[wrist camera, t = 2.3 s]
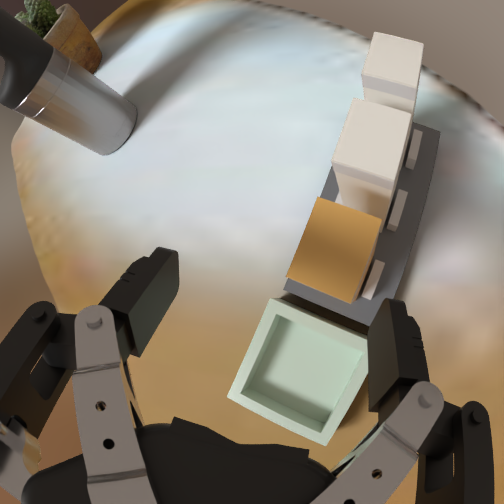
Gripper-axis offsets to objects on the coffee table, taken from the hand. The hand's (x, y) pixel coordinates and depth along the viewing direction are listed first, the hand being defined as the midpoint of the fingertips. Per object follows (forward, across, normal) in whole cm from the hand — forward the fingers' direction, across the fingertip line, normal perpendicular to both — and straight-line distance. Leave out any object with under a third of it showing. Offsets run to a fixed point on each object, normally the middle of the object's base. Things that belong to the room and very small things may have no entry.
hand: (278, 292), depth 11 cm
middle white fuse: (+16, +6, -2) cm, 17 cm away
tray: (+8, +4, -16) cm, 18 cm away
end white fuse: (+19, +7, +3) cm, 21 cm away
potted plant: (+45, -50, +7) cm, 68 cm away
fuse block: (+17, +7, -3) cm, 19 cm away
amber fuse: (+12, +5, -7) cm, 15 cm away
